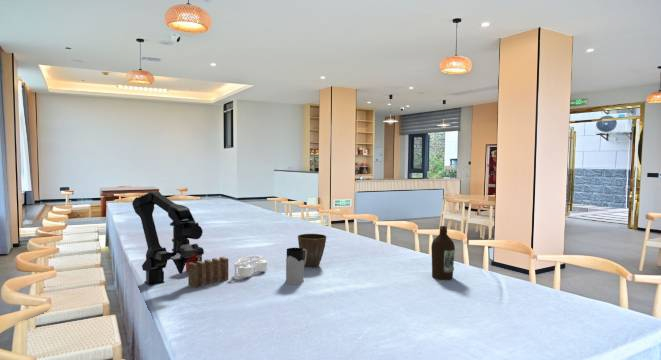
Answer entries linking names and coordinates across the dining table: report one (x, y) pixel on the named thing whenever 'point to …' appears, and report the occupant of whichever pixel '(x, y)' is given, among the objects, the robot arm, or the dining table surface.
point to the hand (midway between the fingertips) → (180, 273)
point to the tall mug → (295, 265)
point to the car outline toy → (249, 266)
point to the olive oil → (442, 256)
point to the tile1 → (192, 275)
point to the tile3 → (209, 271)
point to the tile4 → (216, 269)
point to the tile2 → (201, 273)
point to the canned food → (193, 260)
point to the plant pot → (312, 248)
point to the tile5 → (224, 268)
